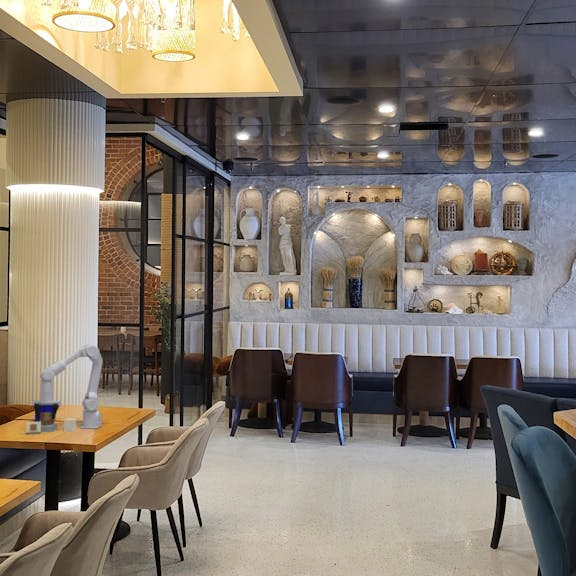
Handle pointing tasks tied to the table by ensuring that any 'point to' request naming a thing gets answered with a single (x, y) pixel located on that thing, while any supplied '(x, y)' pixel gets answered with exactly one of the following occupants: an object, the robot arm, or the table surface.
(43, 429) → the base block
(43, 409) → the puzzle cube
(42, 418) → the walnut block
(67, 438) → the table surface
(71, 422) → the off-white block
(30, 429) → the cream-edged tan board
